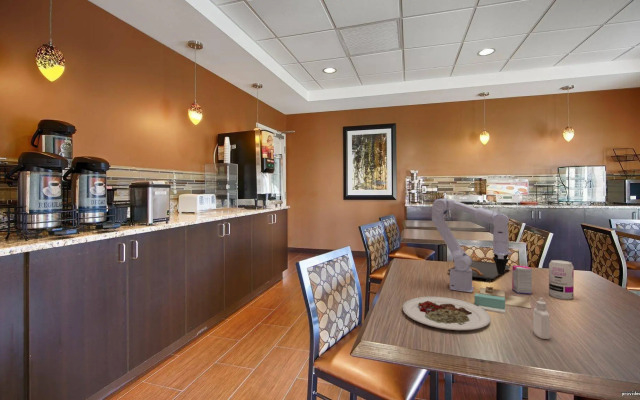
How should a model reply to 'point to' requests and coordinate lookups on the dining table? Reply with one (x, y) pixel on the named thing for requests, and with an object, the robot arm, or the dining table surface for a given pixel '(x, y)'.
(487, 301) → the teal bar
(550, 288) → the supplement can
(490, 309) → the grey tile
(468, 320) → the plated food
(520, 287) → the supplement box
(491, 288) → the board
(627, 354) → the dining table surface
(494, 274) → the serving board
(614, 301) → the dining table surface
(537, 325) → the eye dropper bottle
